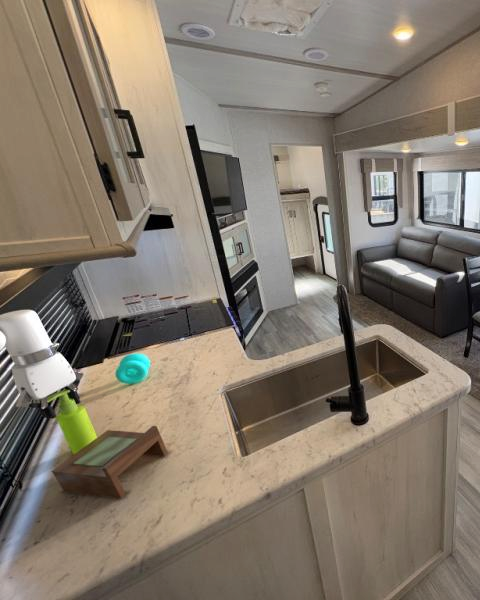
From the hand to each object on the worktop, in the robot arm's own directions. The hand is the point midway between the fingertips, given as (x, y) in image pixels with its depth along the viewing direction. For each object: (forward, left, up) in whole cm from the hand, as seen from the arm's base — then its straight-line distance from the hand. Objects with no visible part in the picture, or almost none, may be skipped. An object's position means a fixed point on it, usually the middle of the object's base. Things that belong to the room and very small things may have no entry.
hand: (63, 409), depth 88 cm
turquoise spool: (-20, +35, -15) cm, 43 cm away
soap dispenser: (0, 0, -15) cm, 15 cm away
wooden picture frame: (+19, -6, -15) cm, 25 cm away
